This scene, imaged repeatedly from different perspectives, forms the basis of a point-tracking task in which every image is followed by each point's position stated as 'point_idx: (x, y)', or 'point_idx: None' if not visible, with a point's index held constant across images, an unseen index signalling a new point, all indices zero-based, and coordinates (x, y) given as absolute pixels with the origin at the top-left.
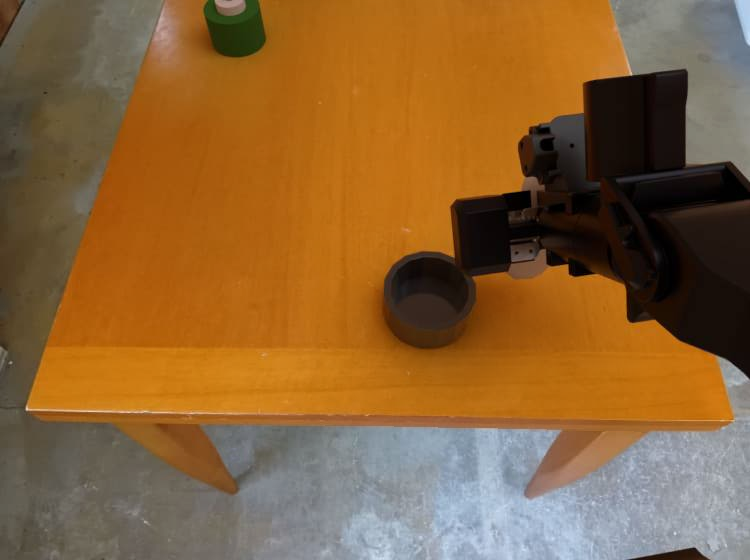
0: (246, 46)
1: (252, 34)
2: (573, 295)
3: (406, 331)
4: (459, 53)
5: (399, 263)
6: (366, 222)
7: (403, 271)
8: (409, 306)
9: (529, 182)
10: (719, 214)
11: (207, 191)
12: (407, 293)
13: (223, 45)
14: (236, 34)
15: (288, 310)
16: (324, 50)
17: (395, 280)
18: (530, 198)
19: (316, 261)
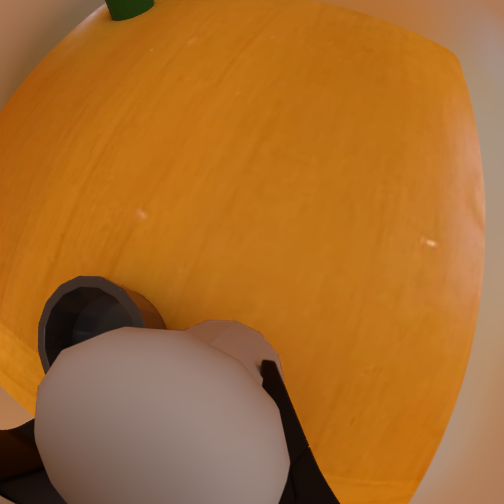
0: (127, 12)
1: (132, 3)
2: (323, 394)
3: None
4: (318, 29)
5: (67, 286)
6: (105, 190)
7: (80, 294)
8: (93, 334)
9: (36, 420)
10: None
11: (22, 133)
12: (97, 315)
13: (112, 13)
14: (118, 4)
15: (8, 280)
16: (189, 12)
17: (69, 302)
18: (8, 498)
19: (43, 230)
